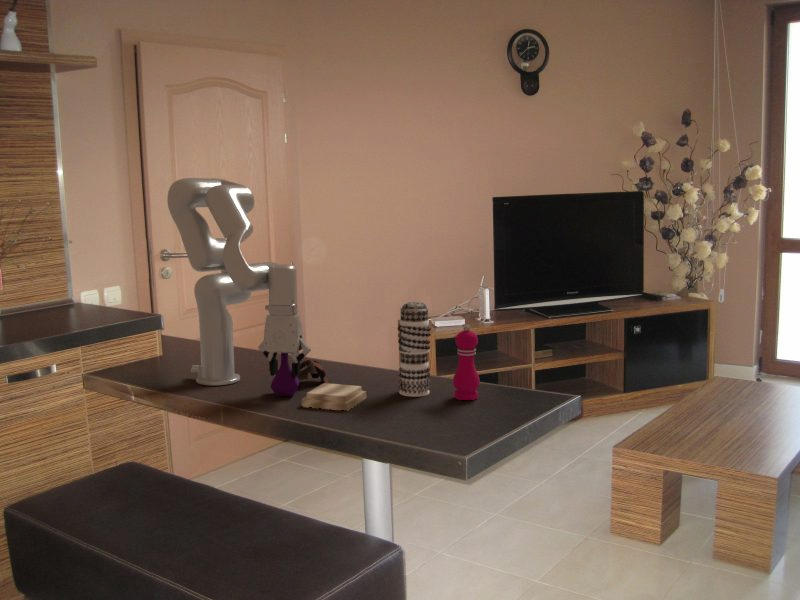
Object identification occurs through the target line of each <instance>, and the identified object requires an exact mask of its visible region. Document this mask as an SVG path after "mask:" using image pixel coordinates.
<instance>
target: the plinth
mask: <svg viewBox="0 0 800 600" xmlns="http://www.w3.org/2000/svg"><path fill="white" fill-rule="evenodd" d="M362 387H363V386H361V385H350V384H339V383H330V382H328V383H324V382H323V383H321V384H320V385H318V386H316V387H315V388H313V389H311V390H309V391H307V392H306V396H304V397H303V398H301V407H302V406H303V407H302V408H309V407H312V408H311V409H319V408H321V409H322V410H330V409H331V410H333V411H341V410H344V411H343V412H349V411H350V409H351V408H352V409H353V408H355V407H356V406H358V405H359V404H360V403H362V402H363V401H365V400H367V390H362ZM357 404H358V405H357ZM354 406H355V407H354ZM321 409H320V410H321ZM352 409H351V410H352ZM331 410H330V411H331ZM345 410H346V411H345Z"/></svg>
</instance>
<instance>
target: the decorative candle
mask: <svg viewBox="0 0 800 600" xmlns="http://www.w3.org/2000/svg"><path fill="white" fill-rule="evenodd" d="M429 310H430V308H429V307H427V305H426V304H425V303H424V302H419V301H418V302H417V301H413V302H412V301H411V302H405V303H404V304H403V305H402V307H400V308H399V311H400V318H399V323H398V324H397V325H398V326H397V331H398V332H399V333H398V334H397V336H398V337H397V338H398V341H397V342H398V344H399V346H398V352H399V353H400V362H399V369H398V371H399V374H398V376H399V377H400V378H399V380H398V383H399V386H398V389H399V390H398V391H399V392H398V394H400V395H401V396H405V397H414V398H415V397H417V398H418V397H424V396H428V395H430V391H431V390H430V388H431V385H430V382H431V380H430V379H429V377H430V376H431V374H430V373H429V372H430V371H431V368H430V367H429V366H430V364H429V363H430V362H429V354H428V353H430V351H431V350H430V349H431V346H430V345H429V344H430V343H431V340H429V339H428V338H429V337H431V335H432V334H431V333H430V331H432V330H431V327H429V324H430V323H429V322H430V321H429Z"/></svg>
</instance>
